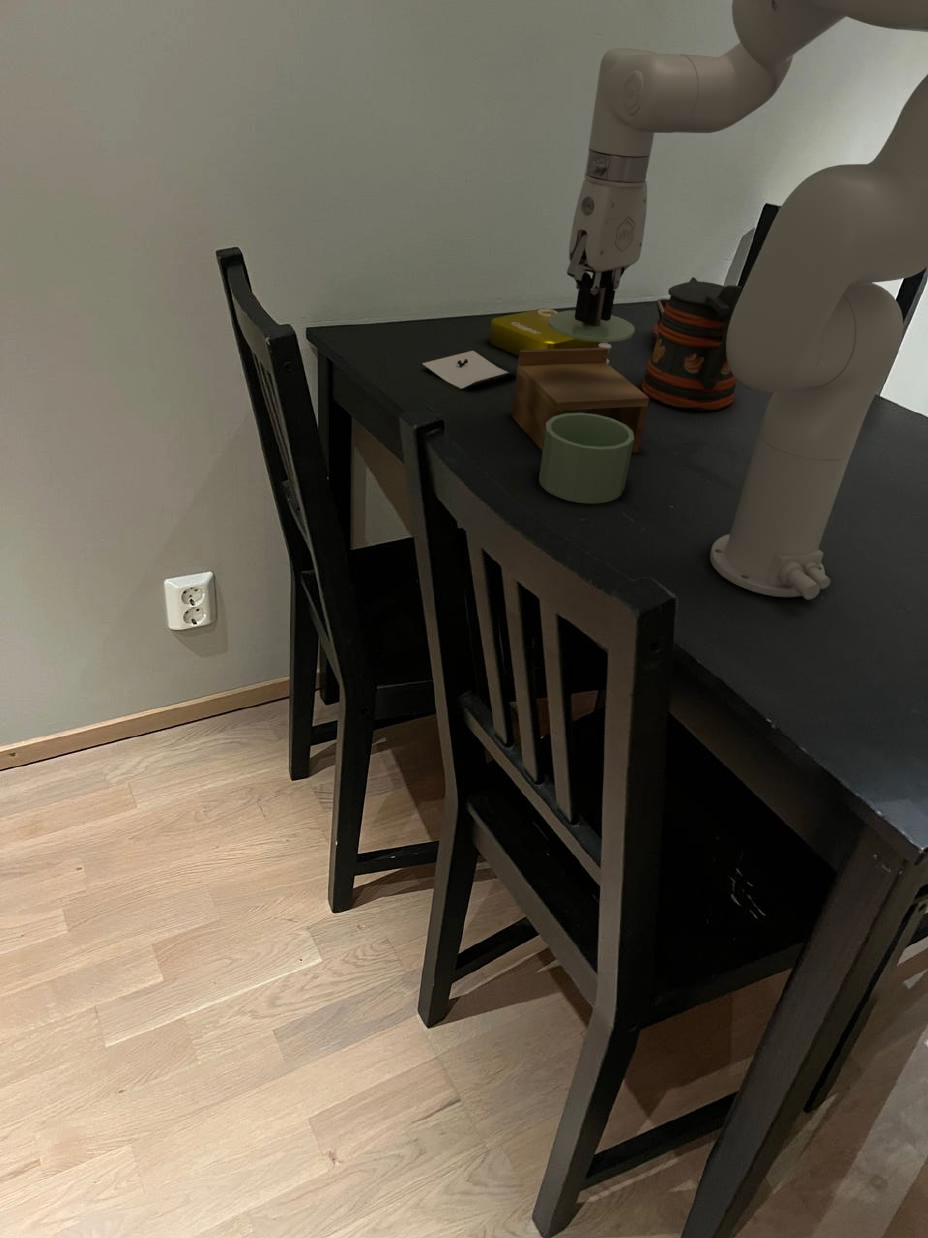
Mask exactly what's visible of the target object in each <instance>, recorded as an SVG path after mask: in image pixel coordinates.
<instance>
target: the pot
mask: <svg viewBox="0 0 928 1238" xmlns="http://www.w3.org/2000/svg"><path fill="white" fill-rule="evenodd" d="M633 443H634V434H633V431H632V430H631V429H630V428H629V427H628V426H626V425H625V424H623V423H621V422H619V421H617V420H615V419H612V418H608V417H605V416H601V415H597V414H590V413H587V412H566V413H562V414H561V415H557V416H554V417H552V418H551V419H550V420H548V421H547V422H546V426H545V434H544V441H543V448H542V450H541V455H540V463H539V471H538V482H539V485H540V487H542V489H544V490H545V491H546V492H547V493H549V494H550V495H552V496H554V497H556V498H559V499H562V500H564V501H568V502H574V503H578V504H591V505H592V504H593V505H594V504H603V503H609V502H612V501H615V500H617V499H618V498H620V497H621V496H622V494H623V493H624V491H625V488H626V483H627V478H628V474H629V468H630V463H631V457H632V454H633V453H632V448H633Z"/></svg>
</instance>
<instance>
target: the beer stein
mask: <svg viewBox="0 0 928 1238" xmlns="http://www.w3.org/2000/svg"><path fill="white" fill-rule="evenodd" d="M742 290H743V287H742V286H741V285H736V284H735V285H730V284H729V285H726V286H725V285H721V284H717V283H714V282H708V281H700V280H699V281H698V280H697V278H696V277H694V276H692V277H691V278H690V280H689V281H687V282H683V283H678V284H675V285H673V286H671V287H670V288H668V291H667V292H668V295H669V296H670V297H669V298H668V299H669V301H667V302H666V307H665V308H664V312H663V316H662V318H661V321H660V325H659V327H658V331H659V334H658V337H657V341H655V344H654V348H653V352H652V355H651V357H650V358H649V359H648V360H647V365H646V368H645V373H644V378H643V382H642V383H641V392H643V393H644V394H645V395H646V396H648V397H649V398H650V399H653V400H655V401H656V402H659V403H660V404H663V405H665V406H671V407H673V408H677V409H682V410H690V411H691V410H692V411H701V412H704V411H718V410H722V409H724V408H727V407H729V406H730V405H731V404H732V403H733V402H734V400H735V391H736V385H737V381H738V380H737V379H736V378H735V377H734V375H733V374H732V372H731V370H730V367H729V364H728V361H727V356H726V338H727V332H728V327H729V324H730V320H731V317H732V314H733V311H734V309H735V306H736V304H737V302H738V300H739V297H740V295H741V293H742Z"/></svg>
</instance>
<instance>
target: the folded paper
mask: <svg viewBox="0 0 928 1238" xmlns="http://www.w3.org/2000/svg"><path fill="white" fill-rule="evenodd" d="M421 364H422V365H423V366H424V367H426V368H427V369H428V370H430V371H432V373H434V374H435V375H437V376H438V377H439V378H441V379H442V380H444V381H445V382H447V383H448V384H451V385H453V386H454V387H457V388H459V389H462V390H463V389H466V388H470V387H473V386H478V385H480V384H484V383H487V382H491V381H494V380H498V379H501V378H505V377H508V376H511V375H514V374H517V369H515V370H512V371H507V370H504V369H503V368H500V367H499V366H496V365H495V364H493V363H492V362H491V361H489V360H487V359H486V358H485V357H484V356H482V355H480V354H479V353H477V352H476V351H475V350H469V351H466V352H462V353H457V354H453V355H450V356H446V357H442V358H437V359H434V360H430V361H426V362H422V363H421Z"/></svg>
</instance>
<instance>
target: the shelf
mask: <svg viewBox="0 0 928 1238" xmlns="http://www.w3.org/2000/svg"><path fill="white" fill-rule="evenodd" d="M608 356H609V353H608V349H607V348H575V349H543V350H520V351H519V357H518V359H517V369H516V370H517V372H516V378H515V379H516V380H515V388H514V396H513V406H512V413H511V418H512V419H513V420H514V421H515V422H516V424H517V425H519V427H520V428H521V429H522V430H523V431H524V432H525V433H526V434H527V436H529V438H530V439H531V440H532V441H533V442H534V443H535V445H536V446H537V447H538V448H539V449H540V450H541V451H542V448H543V441H544V434H545V426H546V422H547V421H548V420H550V419H551V418H552V417H554V416H557V415H561V414H563V411H583V410H589V414H597V415H601V416H605V417H608V418H612V419H615V420H617V421H619V422H621V423H623V424H625V425H626V426H628V427H629V428H630V429H631V430H632V431H633V434H634V443H633V448H632V453H631V454H634V453H639V451H640V446H641V441H642V437H643V432H644V426H645V423H646V422H645V421H646V416H647V412H648V407H649V402H650V396H648V395H646V394H645V393H643V391H642V390H640V389H639V388H638V387H637V386H636V385H634V384H633V383H632V382H630V381H629V380H628V379H627V378H626V377H625V376H623V375H622V374H621V373H619V372H618V371H617V370H615V369H614V368H613V367H612V366H611V365H610V364H609V363H608V364H607V363H606V361H607V359H608Z"/></svg>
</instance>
